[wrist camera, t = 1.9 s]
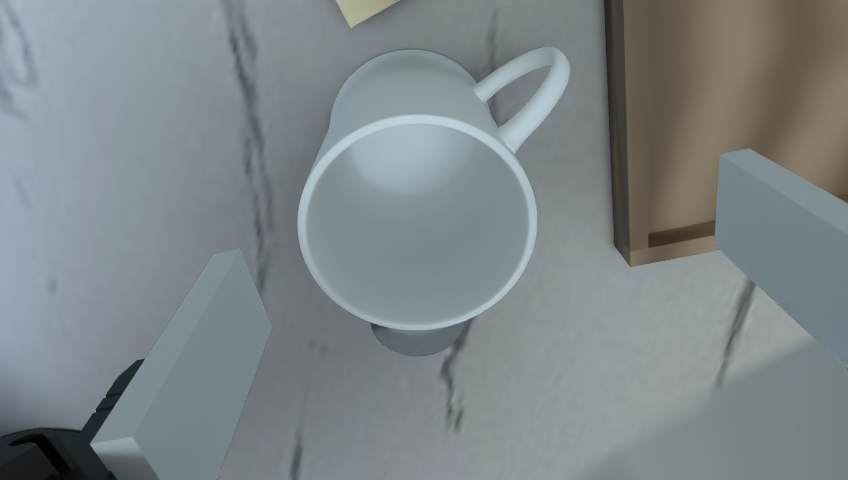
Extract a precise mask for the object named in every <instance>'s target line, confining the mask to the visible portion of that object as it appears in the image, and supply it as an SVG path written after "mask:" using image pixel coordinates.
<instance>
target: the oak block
mask: <svg viewBox="0 0 848 480" xmlns="http://www.w3.org/2000/svg"><path fill="white" fill-rule="evenodd" d="M398 1H400V0H336V2H337V4H338V5H339V7H340V9H341V11H342V13H343V15H344V17H345V19H346V21H347V22H348V24H349V26H350V28H351V27H353V26H355V25H357V24H358V23H360V22H362V21H364V20H366V19H367V18H369V17H371V16H373V15H375V14H377V13H378V12H380V11H382V10H384V9H386V8H387V7H389V6H391V5H393V4H395V3H396V2H398Z"/></svg>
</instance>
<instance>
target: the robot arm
mask: <svg viewBox="0 0 848 480" xmlns="http://www.w3.org/2000/svg"><path fill="white" fill-rule="evenodd" d="M714 245H715V246H716V247H717V248H718V249H719V250H720V251H721V252H722V253H723V254H724V255H725V256H727V257H728V258H729V259H730V260H731V261H732V262H733V263H734V264H735V265H736V266H737V267H738V268H739V269H740V270H742V271H743V272H744V273H745V274H746V275H747V276H748V277H749V278H750V279H751V280H752V281H753V282H754V283H755V284H756V285H758V286H759V287H760V288H761V289H762V290H763V291H764V292H765V293H766V294H767V295H768V296H769V297H770V298H771V299H773V300H774V301H775V302H776V303H777V304H778V305H779V306H780V307H781V308H782V309H783V310H784V311H785V312H786V313H788V314H789V315H790V316H791V317H792V318H793V319H794V320H795V321H796V322H797V323H798V324H799V325H800V326H801V327H803V328H804V329H805V330H806V331H807V332H808V333H809V334H810V335H811V336H812V337H813V338H814V339H815V340H816V341H818V342H819V343H820V344H821V345H822V346H823V347H824V348H825V349H826V350H827V351H828V352H829V353H830V354H831V355H833V356H834V357H835V358H836V359H837V360H838V361H839V362H840V363H841V364H842V365H843V366H844V367H846V368H847V370H848V203H846V202H845V201H843V200H841V199H839V198H837V197H836V196H834V195H832V194H830V193H828V192H827V191H825V190H823V189H821V188H819V187H818V186H816V185H814V184H812V183H810V182H809V181H807V180H805V179H803V178H801V177H800V176H798V175H796V174H794V173H792V172H791V171H789V170H787V169H785V168H783V167H782V166H780V165H778V164H776V163H774V162H773V161H771V160H769V159H767V158H766V157H764V156H762V155H760V154H758V153H757V152H755V151H753V150H751V149H744V150H739V151H734V152H729V153H724V154H720V155H719V172H718V189H717V206H716V223H715V240H714ZM271 330H272V325H271V322H270V320H269V317H268V315H267V313H266V310H265V308H264V305H263V303H262V301H261V298H260V296H259V293H258V291H257V288H256V286H255V284H254V281H253V279H252V276H251V274H250V272H249V269H248V267H247V264H246V262H245V260H244V257H243V255H242V252H241V250H240V249H236V250H230V251H225V252H220V253H215V254H213V256H212V257H211V259H210V260H209V262H208V263H207V265H206V266H205V268H204V269H203V271H202V273H201V274H200V276H199V277H198V279H197V280H196V282H195V283H194V285H193V286H192V288H191V289H190V291H189V293H188V294H187V296H186V297H185V299H184V300H183V302H182V303H181V305H180V306H179V308H178V309H177V311H176V313H175V314H174V316H173V317H172V319H171V320H170V322H169V323H168V325H167V326H166V328H165V329H164V331H163V332H162V334H161V336H160V337H159V339H158V340H157V342H156V343H155V345H154V346H153V348H152V349H151V351H150V352H149V354H148V356H147V357H146V359H142V360H137V361H136V362H134V363H133V364H132V365H131V366H130V367H129V368H128V369H127V370H125V371H124V372H123V373H122V374H121V375H120V376H119V377H118V378H117V379H116V381H115V382H114V384H113V385H112V387H111V388H110V389H109V391H108V392H107V394H106V398H103V400H102V401H101V403H100V404H99V405H98V407H97V408H96V413H93V414H92V416H91V417H90V419H89V420H88V421H87V423H86V424H85V426H84V427H83V429H82V430H81V432H80V433H77V432H71V431H61V430H52V429H50V428H37V429H33V430H29V431H25V432H20V433H16V434H12V435H9V436H5V437H3V438H0V480H217V479H218V476H219V473H220V470H221V468H222V465H223V462H224V459H225V457H226V454H227V451H228V448H229V445H230V443H231V440H232V437H233V434H234V432H235V429H236V426H237V423H238V421H239V418H240V415H241V412H242V410H243V407H244V404H245V401H246V399H247V396H248V393H249V390H250V388H251V385H252V382H253V379H254V377H255V374H256V371H257V368H258V366H259V363H260V360H261V357H262V355H263V352H264V349H265V346H266V343H267V341H268V338H269V335H270V332H271Z"/></svg>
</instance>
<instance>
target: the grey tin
mask: <svg viewBox="0 0 848 480" xmlns="http://www.w3.org/2000/svg"><path fill="white" fill-rule="evenodd" d="M464 325H465V321H463V322H460V323H458V324H454V325H451V326H447V327H443V328H437V329H430V330H401V329H394V328H388V327H384V326H380V325H377V324H374V323H371V327H372V330H373V332H374V334H375V336H376V337H377V338H378V340H379V341H380V342H381V343H382V344H383V345H384V346H386V347H387V348H389V349H390V350H392V351H394V352H397V353H400V354H403V355H408V356H426V355H431V354H434V353H437V352H440V351H442V350H444V349H445V348H447V347H449V346H450V345H451V344H452V343H454V342H455V340H456V339H457V338H458V337H459V336H460V334H461V332H462V330H463V328H464Z"/></svg>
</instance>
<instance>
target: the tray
mask: <svg viewBox="0 0 848 480" xmlns="http://www.w3.org/2000/svg"><path fill="white" fill-rule="evenodd" d="M604 7H605V30H606V54H607V77H608V101H609V125H610V148H611V172H612V195H613V219H614V242H615V247H616V248H617V250H618V251H619V252H620V254H621V255H622V256H623V258H624V259H625V260H626V262H627V263H628V264H629V266H630V267H633V266H639V265H644V264H649V263H654V262H659V261H665V260H670V259H675V258H680V257H685V256H691V255H696V254H701V253H706V252H711V251H717V250H719V249H718V248H717V247H716V246H715V245H714V240H715V223H716V206H717V189H718V172H719V155H720V154H724V153H729V152H734V151H739V150H744V149H751V150H753V151H755V152H757V153H758V154H760V155H762V156H764V157H766V158H767V159H769V160H771V161H773V162H774V163H776V164H778V165H780V166H782V167H783V168H785V169H787V170H789V171H791V172H792V173H794V174H796V175H798V176H800V177H801V178H803V179H805V180H807V181H809V182H810V183H812V184H814V185H816V186H818V187H819V188H821V189H823V190H825V191H827V192H828V193H830V194H832V195H834V196H836V197H837V198H839V199H841V200H843V201H845V202H846V203H848V0H604Z"/></svg>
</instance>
